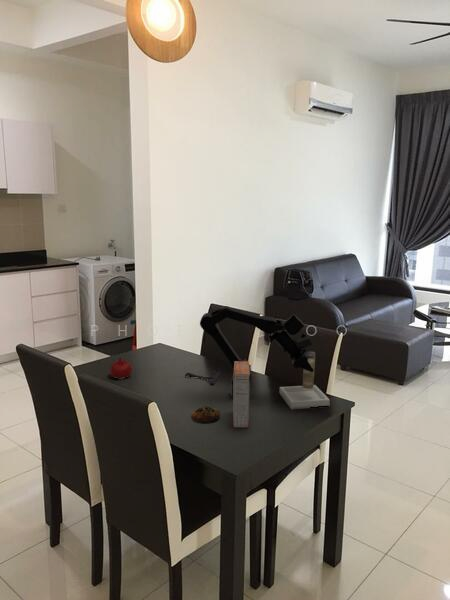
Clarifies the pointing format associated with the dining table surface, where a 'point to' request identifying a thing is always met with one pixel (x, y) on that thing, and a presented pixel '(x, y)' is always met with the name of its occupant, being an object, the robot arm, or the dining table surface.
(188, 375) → the dark grey t-shape
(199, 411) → the bread roll
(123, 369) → the pomegranate
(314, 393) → the tray
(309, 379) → the handle post
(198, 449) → the dining table surface
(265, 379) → the dining table surface
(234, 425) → the cracker box
